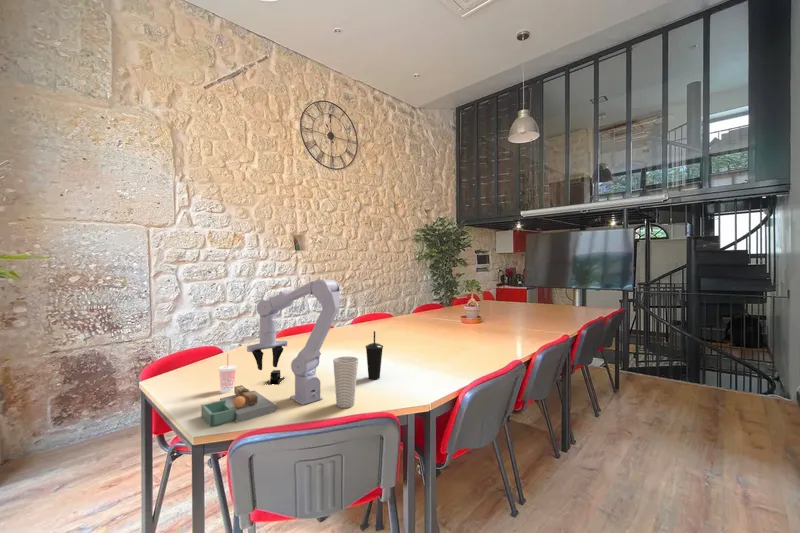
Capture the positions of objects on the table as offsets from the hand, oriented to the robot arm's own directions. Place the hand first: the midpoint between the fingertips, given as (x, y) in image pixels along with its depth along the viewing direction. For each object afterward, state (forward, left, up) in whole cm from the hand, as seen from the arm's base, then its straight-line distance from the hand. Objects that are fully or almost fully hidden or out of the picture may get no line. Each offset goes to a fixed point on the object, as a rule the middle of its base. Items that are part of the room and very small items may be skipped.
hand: (267, 368), depth 128 cm
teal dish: (-11, +20, -9) cm, 25 cm away
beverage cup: (+13, +10, -10) cm, 19 cm away
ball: (-13, +14, -5) cm, 20 cm away
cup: (-29, -15, -10) cm, 34 cm away
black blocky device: (+12, -8, -10) cm, 18 cm away
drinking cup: (-13, -41, -10) cm, 44 cm away
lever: (-7, +10, -7) cm, 14 cm away
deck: (-9, +11, -9) cm, 17 cm away
